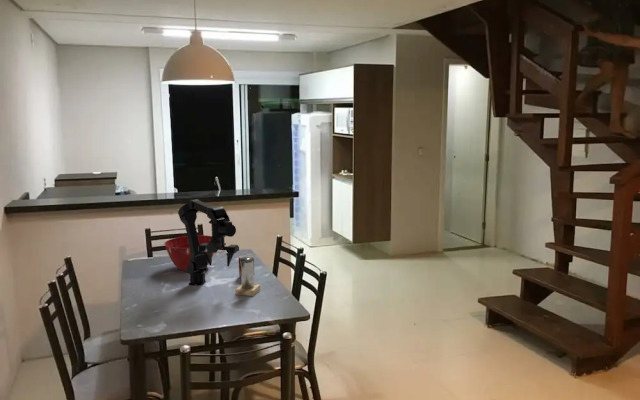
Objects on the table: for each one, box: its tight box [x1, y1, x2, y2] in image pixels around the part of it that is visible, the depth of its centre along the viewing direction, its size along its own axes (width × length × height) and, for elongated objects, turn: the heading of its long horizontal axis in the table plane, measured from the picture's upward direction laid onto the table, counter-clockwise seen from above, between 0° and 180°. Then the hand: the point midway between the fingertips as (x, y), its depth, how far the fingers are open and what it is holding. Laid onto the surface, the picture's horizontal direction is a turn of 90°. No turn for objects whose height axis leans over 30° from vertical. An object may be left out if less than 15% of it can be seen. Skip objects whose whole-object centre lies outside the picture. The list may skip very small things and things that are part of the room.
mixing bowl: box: [164, 234, 215, 272], centre depth 287 cm, size 28×28×15 cm
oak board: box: [235, 283, 261, 297], centre depth 248 cm, size 9×9×2 cm
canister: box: [240, 257, 255, 289], centre depth 247 cm, size 6×6×14 cm
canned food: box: [238, 254, 255, 279], centre depth 271 cm, size 8×8×11 cm
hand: (219, 265), depth 246 cm, fingers open, 9 cm apart
